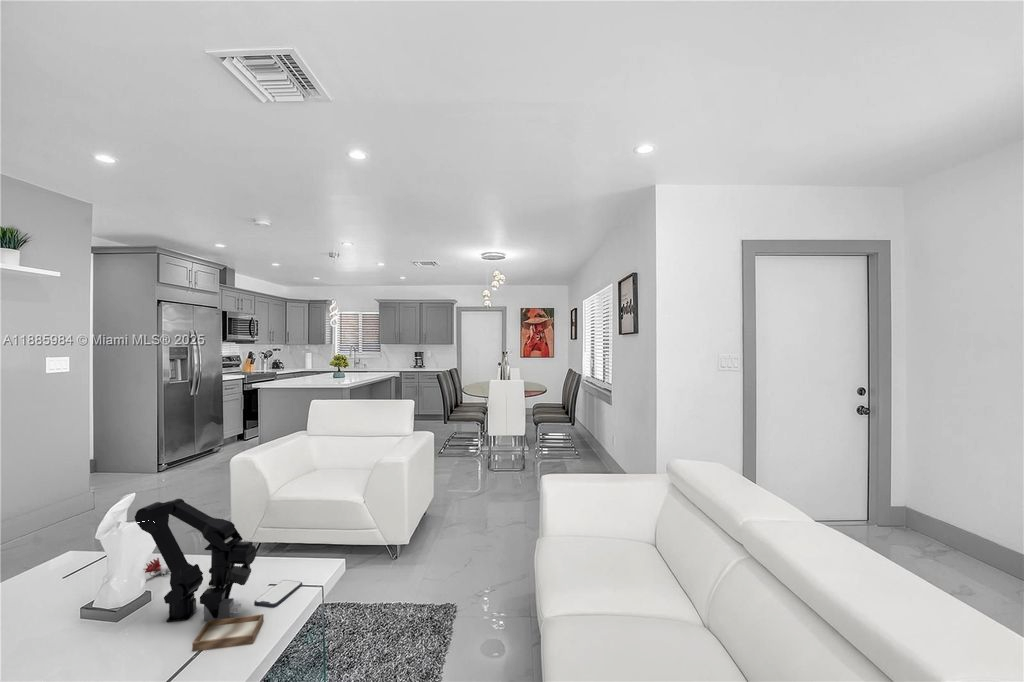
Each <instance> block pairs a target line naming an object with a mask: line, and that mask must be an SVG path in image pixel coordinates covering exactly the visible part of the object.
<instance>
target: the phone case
mask: <svg viewBox="0 0 1024 682" xmlns="http://www.w3.org/2000/svg"><path fill="white" fill-rule="evenodd" d="M301 587H303V582H302V581H299V580H297V581H296V580H288V579H284V580H281V581H280V582H278V583H277V584H276V585H274V586H273V587H272V588H270V589H269V590H267V591H266V592H264V593H263V594H262V595H260V596H259V597H257V598H256V599H255V600H254V602H253V603H254V604H253V605H254V606H255V607H262V608H270V609H274V608H277V607H278V606H279V605H281V604H282V603H283V602H285V600H287V599H288V598H289V597H291V596H292V595H293V594H294V593H296V592H297V590H299V589H300V588H301Z"/></svg>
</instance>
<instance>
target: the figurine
mask: <svg viewBox="0 0 1024 682" xmlns="http://www.w3.org/2000/svg"><path fill="white" fill-rule="evenodd" d="M182 553H183V555H184V556H185V554H184V551H182ZM152 560H153V561H152ZM152 560H149V563H146V564H145V565H146V566H147V568H144V571H145V572H144V573H150V576H152V577H153V576H154V577H155V576H157V575H159V574H161V575H163V574H164V575H166V573H167V572H169V573H170V574H171V572H170V570H169V568H168V566H167V564H166V562H164V563H162V564H161V562H160V557H157V558H156V559H155V558H154V559H152ZM162 578H163V576H162Z"/></svg>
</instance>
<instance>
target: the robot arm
mask: <svg viewBox="0 0 1024 682" xmlns="http://www.w3.org/2000/svg"><path fill="white" fill-rule="evenodd" d="M170 516H172V517H174V518H176V519H178V520H179V521H181V522H183V523H185V524H186V525H189V526H191V527H192V528H194V529H196V530H197V531H199V532H201V534H202V537H203V539H205V540H206V541H207V542H208V543H209V544H208V545H207V546H206V547H205V548H204V551H211V553H210V554H211V557H210V559H211V561H210V562H211V563H210V564H211V566H210V568H208V574H210V579H209V581H208V586H209V587H210V588H206V589H205V590H204V591H203V593H202V594H201V595H200V596H199V604H200V605H203V606H204V605H205V606H206V608H207V609H208V610H209V612H210V613H211V615H212V616H213V618H217V617H218V614H219V608H220V603H221V602H222V601H223V600H224V599H230V596H231V592H232V588H233V585H234V584H236V585H237V584H238V585H240V586H245V585H246V583H247V581H249V578H250V575H251V573H252V568H251V565H252V563H253V562H254V561H255V559H256V556H257V552H258V551H257V548H256V546H255V545H254V543H253V541H246V542H245V541H244V542H243V537H242V536H241V534H240V533H239V531H238V529H236V526H235V523H234V522H232V521H229V520H226V519H224V518H215V517H212V516H210V515H209V514H207V513H204V512H203V511H201V510H199V509H197V508H196V507H195V506H193V505H191V504H189V503H187V502H185V501H184V499H182V498H175V499H173V500H169V501H165V502H160V501H156V502H153V503H151V504H148V505H146V506H144V507H141V508H139V509H138V510H137V511H136V512H135V515H134V521H135V522H136V524H137V525H138V527H139V528H140V530H142V531H144V532H146V533H148V534H150V536H151V537H152V539H153V541H154V543H155V546H156V547H157V549H158V551H159V552H160V555H161V556H162V559H163V560H164V563H166V564H167V566H168V568H169V570H170V572H171V573H170V572H169V573H170V579H169V586H170V589H171V590H169V591H168V592H167V594H165V595H164V597H163V600H164V604H166V605H168V618H167V619H166V623H169V622H170V623H171V622H178V621H187V620H189V619H190V618H191V617H192V615H193V614H194V613H195V612H196V611H197V609H198V608H197V598H196V597H195V596H196V595H195V593H196V592H197V591H199V589H200V586H202V584H203V581H204V572H202V570H201V568H200V565H199V564H198V563H195V564H191V563H189V562H188V561H187V559H186V557H185V554H184V552H183V550H182V549H181V547H180V546H179V544H178V542H177V540H176V538H175V536H174V534H173V532H172V530H171V528H170V527H169V519H170ZM148 520H149V521H148ZM142 521H145V522H142ZM153 521H154V522H155V523H154V522H153ZM137 522H140V523H137ZM226 541H227V542H226ZM182 552H183V553H182ZM183 554H184V555H183ZM211 585H212V587H211ZM213 586H214V587H213ZM215 586H216V587H215Z"/></svg>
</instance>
